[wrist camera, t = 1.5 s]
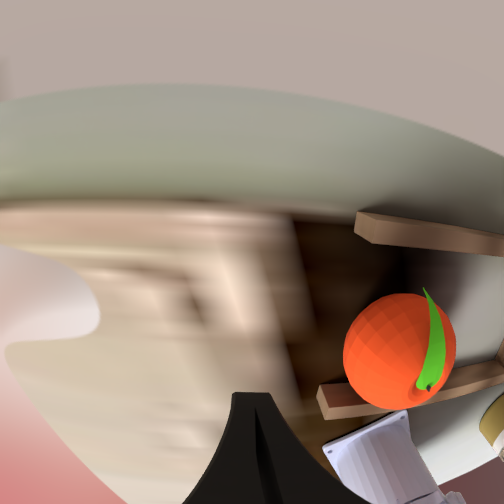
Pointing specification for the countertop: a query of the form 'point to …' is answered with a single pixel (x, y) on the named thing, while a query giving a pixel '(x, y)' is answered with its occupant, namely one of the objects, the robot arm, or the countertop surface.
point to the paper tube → (494, 426)
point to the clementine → (399, 351)
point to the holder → (429, 237)
